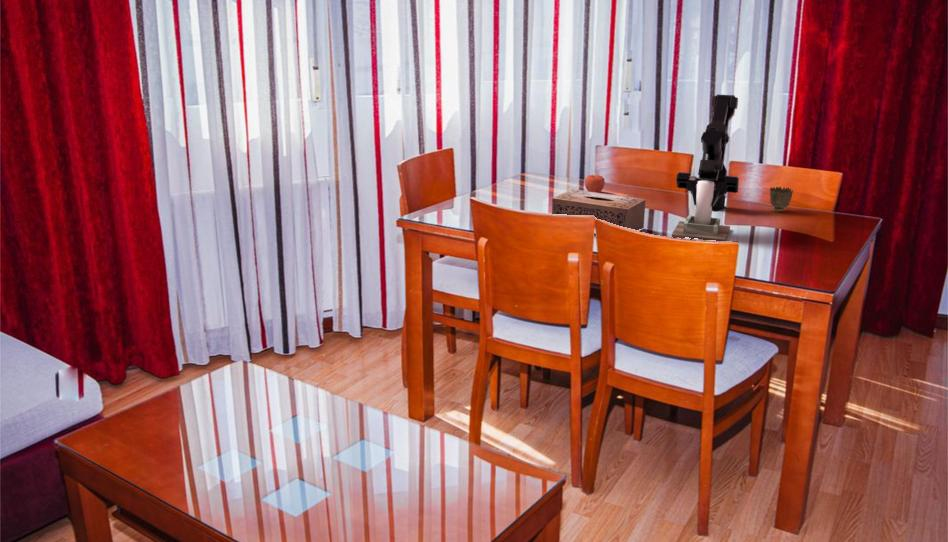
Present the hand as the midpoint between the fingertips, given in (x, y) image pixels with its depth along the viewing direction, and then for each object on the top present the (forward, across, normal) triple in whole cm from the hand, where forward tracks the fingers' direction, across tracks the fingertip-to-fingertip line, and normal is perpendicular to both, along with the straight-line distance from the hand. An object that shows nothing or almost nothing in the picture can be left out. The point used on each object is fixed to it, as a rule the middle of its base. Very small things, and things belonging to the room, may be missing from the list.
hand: (703, 205), depth 261 cm
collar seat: (+6, 0, +8) cm, 10 cm away
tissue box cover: (+10, -32, +4) cm, 34 cm away
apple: (-22, -44, +36) cm, 61 cm away
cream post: (+4, 0, +6) cm, 7 cm away
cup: (-20, +22, +34) cm, 46 cm away
